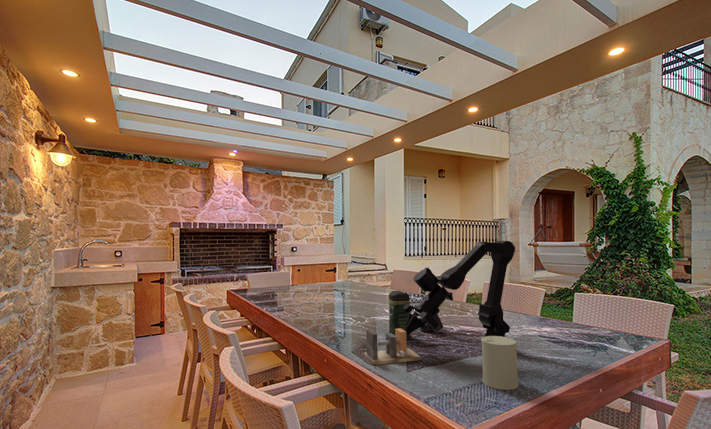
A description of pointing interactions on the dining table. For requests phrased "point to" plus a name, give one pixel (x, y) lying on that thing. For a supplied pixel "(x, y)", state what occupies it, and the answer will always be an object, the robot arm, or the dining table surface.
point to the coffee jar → (397, 310)
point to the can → (499, 362)
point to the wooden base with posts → (391, 350)
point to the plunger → (398, 341)
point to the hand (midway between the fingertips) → (404, 335)
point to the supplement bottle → (426, 329)
